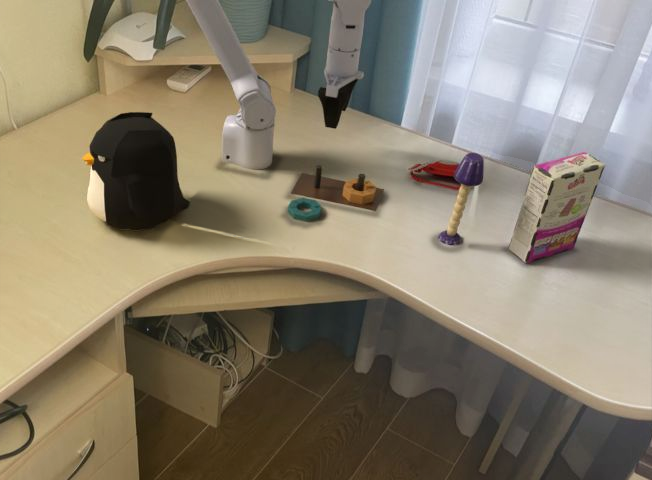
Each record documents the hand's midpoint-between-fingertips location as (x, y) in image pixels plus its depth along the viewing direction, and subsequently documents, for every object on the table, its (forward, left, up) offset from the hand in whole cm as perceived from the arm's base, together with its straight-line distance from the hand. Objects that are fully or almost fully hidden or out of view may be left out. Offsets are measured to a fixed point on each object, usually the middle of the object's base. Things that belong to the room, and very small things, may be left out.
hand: (335, 118), depth 141 cm
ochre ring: (+8, -11, -9) cm, 16 cm away
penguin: (-27, -30, -10) cm, 41 cm away
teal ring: (0, -20, -9) cm, 22 cm away
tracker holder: (+21, +2, -10) cm, 23 cm away
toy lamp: (+26, -19, -10) cm, 34 cm away
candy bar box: (+41, -15, -10) cm, 45 cm away
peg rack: (+4, -11, -9) cm, 15 cm away
